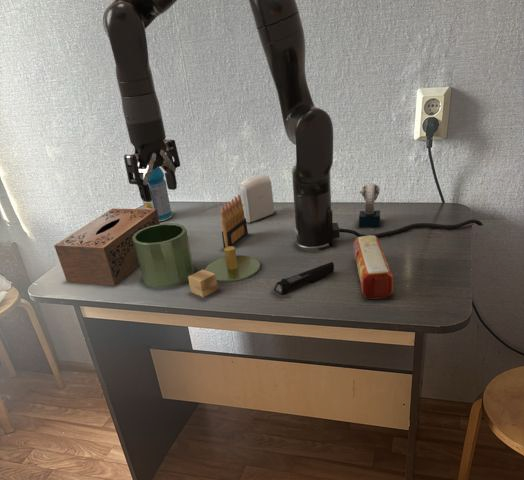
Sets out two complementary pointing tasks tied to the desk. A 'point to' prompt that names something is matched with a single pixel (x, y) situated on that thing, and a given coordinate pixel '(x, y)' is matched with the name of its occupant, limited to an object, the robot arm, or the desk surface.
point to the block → (203, 283)
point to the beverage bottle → (158, 195)
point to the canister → (163, 254)
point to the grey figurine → (369, 207)
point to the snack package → (372, 268)
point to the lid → (233, 266)
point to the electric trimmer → (304, 278)
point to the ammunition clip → (233, 222)
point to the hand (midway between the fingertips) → (160, 195)
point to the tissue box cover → (104, 247)
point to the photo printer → (256, 197)
